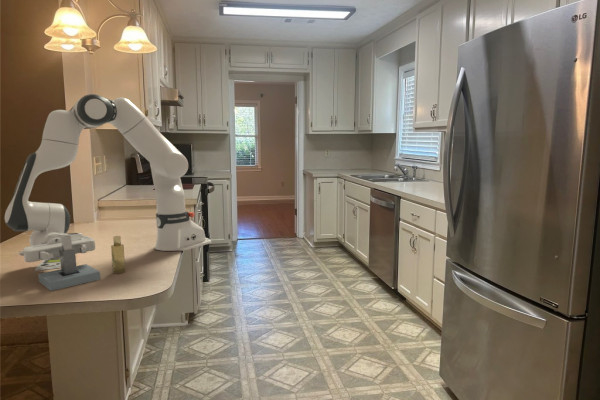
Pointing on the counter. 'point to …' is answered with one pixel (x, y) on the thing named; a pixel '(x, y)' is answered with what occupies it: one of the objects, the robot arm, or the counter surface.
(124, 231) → the counter surface
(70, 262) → the square bit
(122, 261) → the gold bottle
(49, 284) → the socket plate
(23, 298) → the counter surface
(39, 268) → the handheld gaming device
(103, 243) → the counter surface
